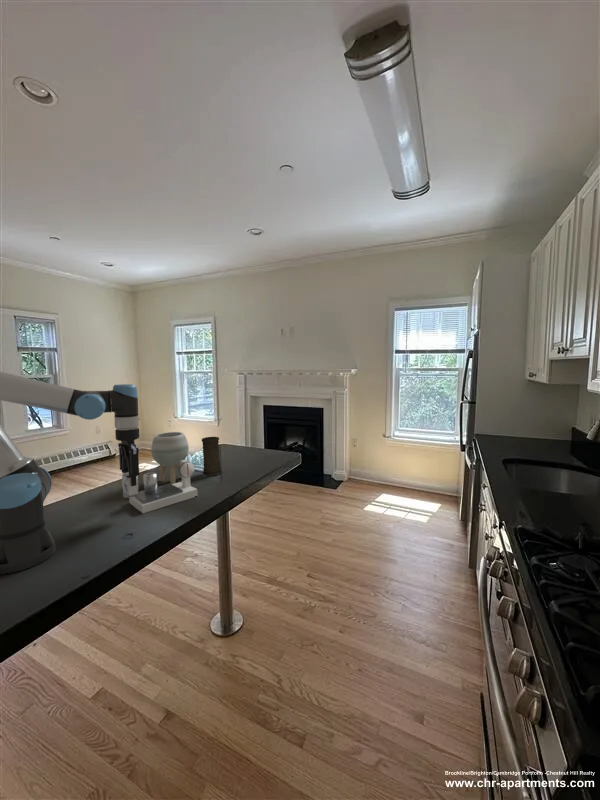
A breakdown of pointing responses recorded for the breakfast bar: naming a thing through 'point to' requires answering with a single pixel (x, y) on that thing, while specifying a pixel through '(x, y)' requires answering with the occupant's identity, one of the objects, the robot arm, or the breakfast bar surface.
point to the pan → (159, 493)
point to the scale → (188, 492)
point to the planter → (169, 452)
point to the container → (211, 456)
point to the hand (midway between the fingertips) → (130, 492)
